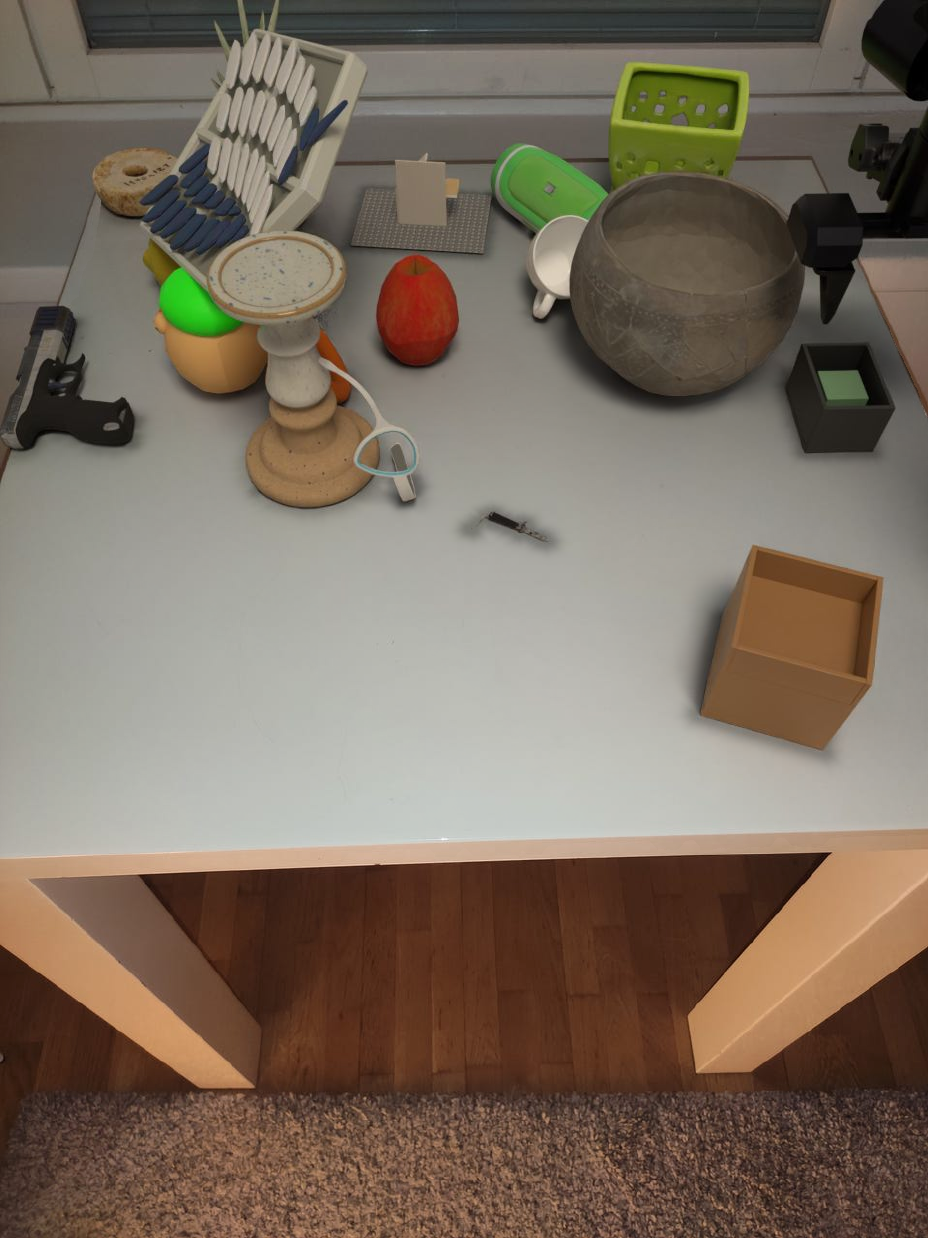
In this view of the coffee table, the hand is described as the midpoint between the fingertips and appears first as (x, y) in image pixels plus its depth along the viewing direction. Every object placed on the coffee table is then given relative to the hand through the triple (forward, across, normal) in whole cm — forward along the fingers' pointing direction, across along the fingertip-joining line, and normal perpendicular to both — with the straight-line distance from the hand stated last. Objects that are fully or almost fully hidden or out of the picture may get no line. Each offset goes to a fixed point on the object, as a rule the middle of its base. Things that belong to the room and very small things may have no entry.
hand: (878, 320), depth 76 cm
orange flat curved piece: (+12, +46, -7) cm, 48 cm away
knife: (+13, +32, +13) cm, 37 cm away
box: (+13, +11, +27) cm, 32 cm away
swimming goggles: (+7, +45, +7) cm, 46 cm away
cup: (+11, +26, -22) cm, 36 cm away
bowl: (+12, +14, -10) cm, 21 cm away
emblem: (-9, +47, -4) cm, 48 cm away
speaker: (+6, +21, -33) cm, 40 cm away
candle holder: (+12, +49, +3) cm, 50 cm away
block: (+12, 0, -2) cm, 12 cm away
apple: (+12, +39, -12) cm, 43 cm away
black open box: (+13, 0, -2) cm, 13 cm away
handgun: (+11, +66, -8) cm, 68 cm away
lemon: (+12, +62, -22) cm, 68 cm away
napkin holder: (+12, +39, -34) cm, 54 cm away
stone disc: (+10, +69, -37) cm, 79 cm away
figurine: (+12, +59, -8) cm, 61 cm away
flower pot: (+12, +11, -36) cm, 40 cm away
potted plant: (+12, +56, -36) cm, 68 cm away
